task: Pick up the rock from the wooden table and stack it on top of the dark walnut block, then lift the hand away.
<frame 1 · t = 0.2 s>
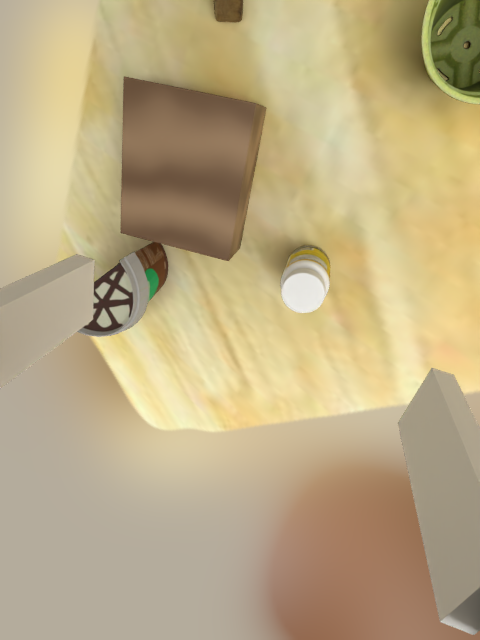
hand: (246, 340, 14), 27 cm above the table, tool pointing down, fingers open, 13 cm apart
walnut block: (197, 171, 38), on the table
plant pot: (463, 46, 29), on the table
supplement bottle: (308, 265, 40), on the table
food container: (148, 278, 46), on the table
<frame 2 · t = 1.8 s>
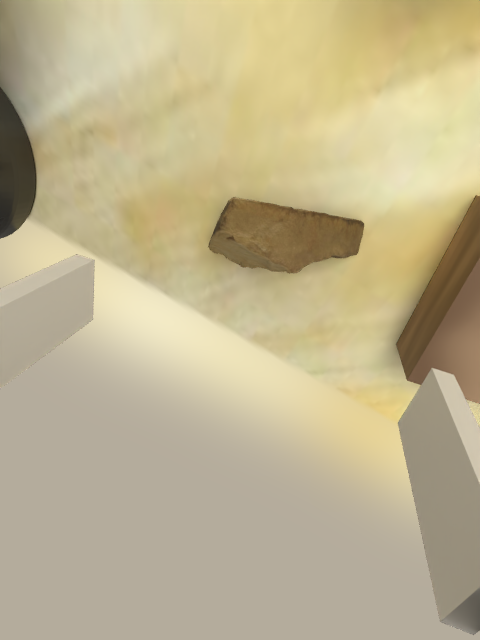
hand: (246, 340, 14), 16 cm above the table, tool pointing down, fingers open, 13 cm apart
rock: (288, 234, 28), on the table
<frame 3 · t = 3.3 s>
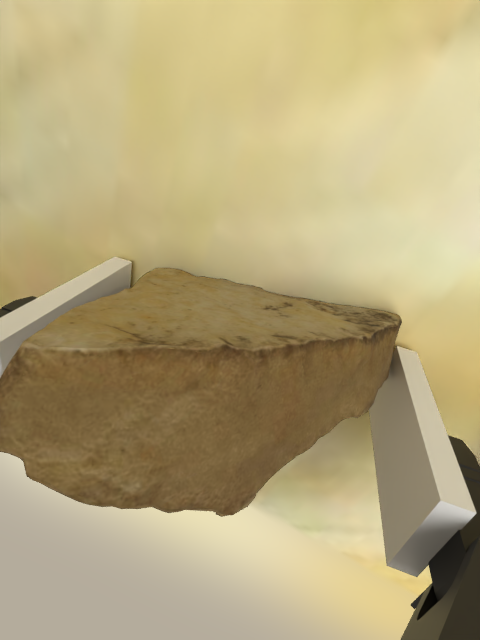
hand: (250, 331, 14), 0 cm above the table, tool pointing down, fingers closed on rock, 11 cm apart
rock: (255, 323, 15), on the table, touching gripper
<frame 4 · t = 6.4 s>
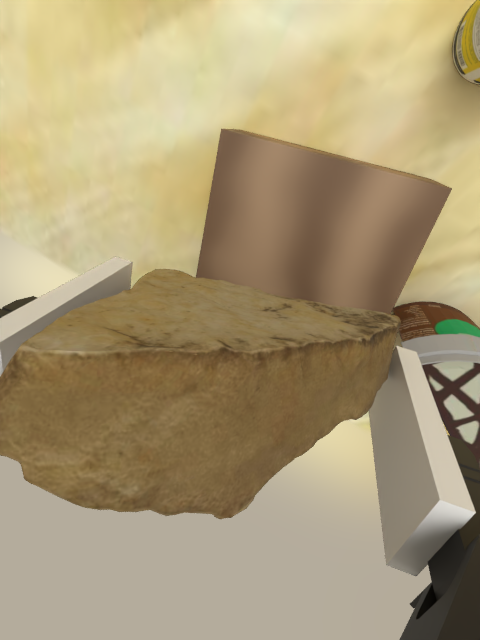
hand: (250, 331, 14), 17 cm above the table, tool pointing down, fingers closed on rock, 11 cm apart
walnut block: (307, 234, 29), on the table
rock: (255, 324, 15), point 16 cm above the table, touching gripper
food container: (451, 337, 30), on the table
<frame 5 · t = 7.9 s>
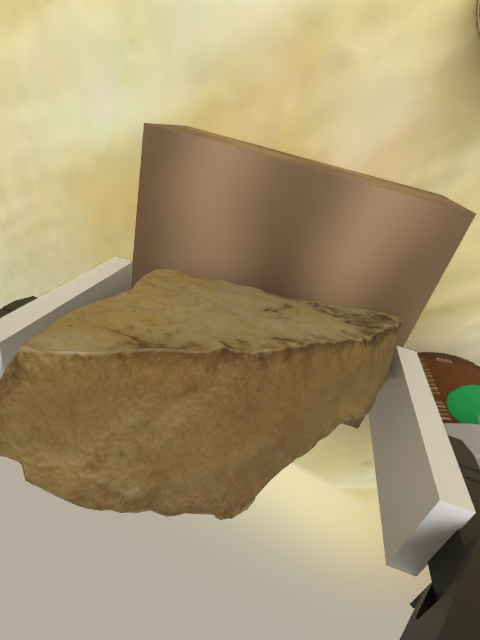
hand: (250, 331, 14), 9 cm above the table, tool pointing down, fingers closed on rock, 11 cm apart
walnut block: (278, 264, 22), on the table
rock: (255, 324, 15), point 8 cm above the table, touching gripper
food container: (465, 396, 23), on the table
when the fingers open (7 cm above the table, at t = 9.1 s): rock drops 2 cm, resting on walnut block.
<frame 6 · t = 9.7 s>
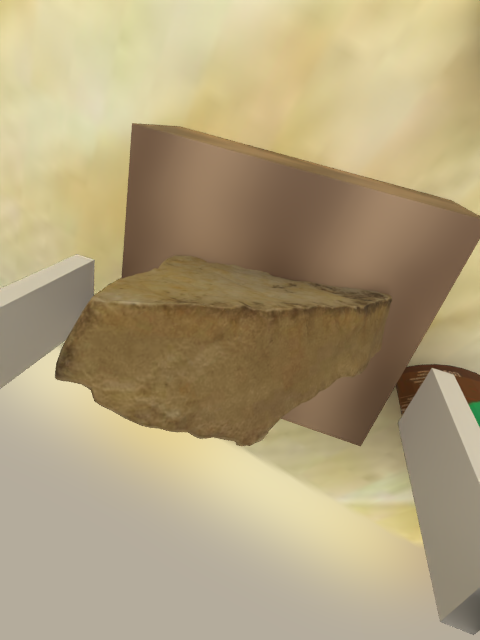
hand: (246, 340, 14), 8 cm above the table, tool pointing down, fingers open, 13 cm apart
walnut block: (277, 271, 21), on the table
rock: (262, 305, 17), point 5 cm above the table, touching walnut block
food container: (473, 410, 22), on the table
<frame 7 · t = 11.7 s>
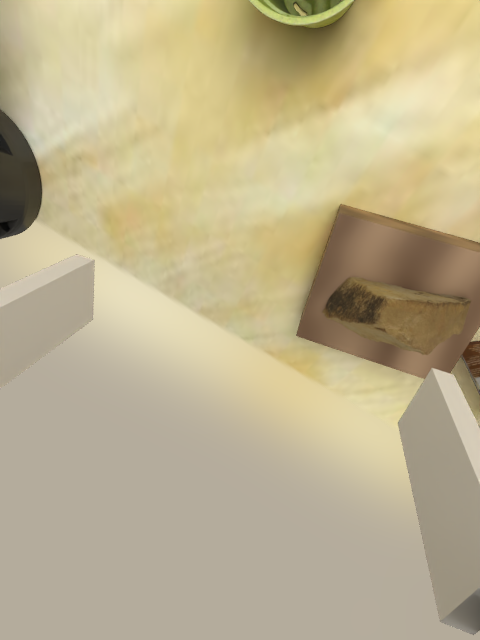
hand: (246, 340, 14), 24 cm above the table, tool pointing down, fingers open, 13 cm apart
walnut block: (388, 284, 35), on the table
rock: (394, 303, 31), point 5 cm above the table, touching walnut block
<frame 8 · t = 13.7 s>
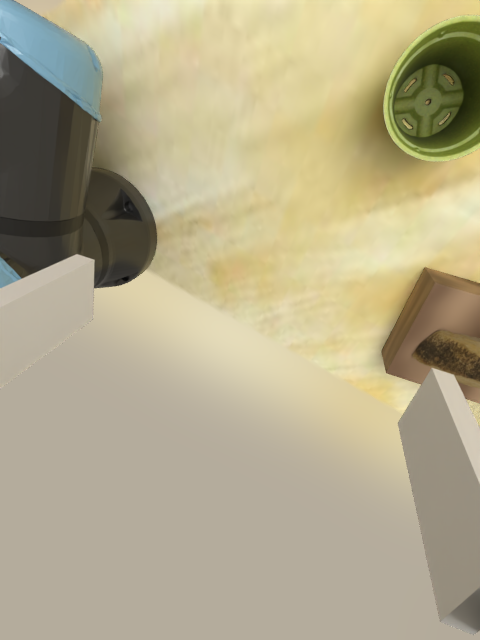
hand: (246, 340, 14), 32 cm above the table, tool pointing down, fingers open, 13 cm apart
walnut block: (459, 329, 43), on the table
plant pot: (425, 103, 35), on the table
rock: (472, 350, 39), point 5 cm above the table, touching walnut block
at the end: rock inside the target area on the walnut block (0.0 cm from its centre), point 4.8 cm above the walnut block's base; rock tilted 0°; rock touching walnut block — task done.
